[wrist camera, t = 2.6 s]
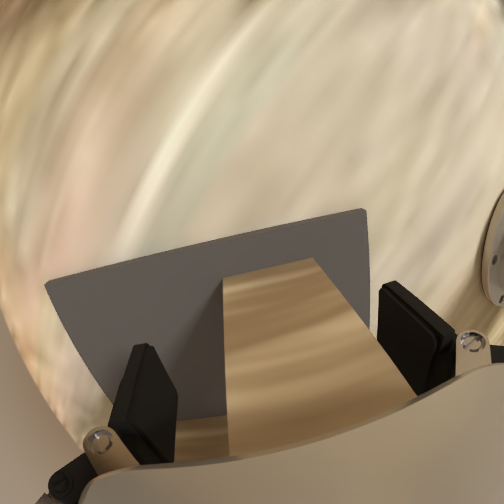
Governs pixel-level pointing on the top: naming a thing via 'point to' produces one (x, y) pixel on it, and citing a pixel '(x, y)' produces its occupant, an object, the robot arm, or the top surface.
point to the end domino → (299, 359)
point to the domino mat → (198, 302)
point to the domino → (201, 439)
